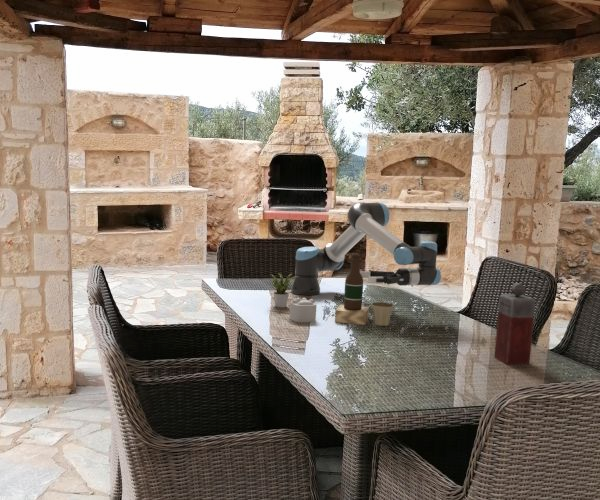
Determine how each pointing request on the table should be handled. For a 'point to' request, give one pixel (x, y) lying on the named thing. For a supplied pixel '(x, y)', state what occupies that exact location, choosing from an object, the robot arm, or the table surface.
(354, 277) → the beer bottle
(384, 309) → the flower pot
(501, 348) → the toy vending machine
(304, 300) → the lumpy-topped squat cylinder
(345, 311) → the olive wood block
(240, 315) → the table surface
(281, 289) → the house plant
